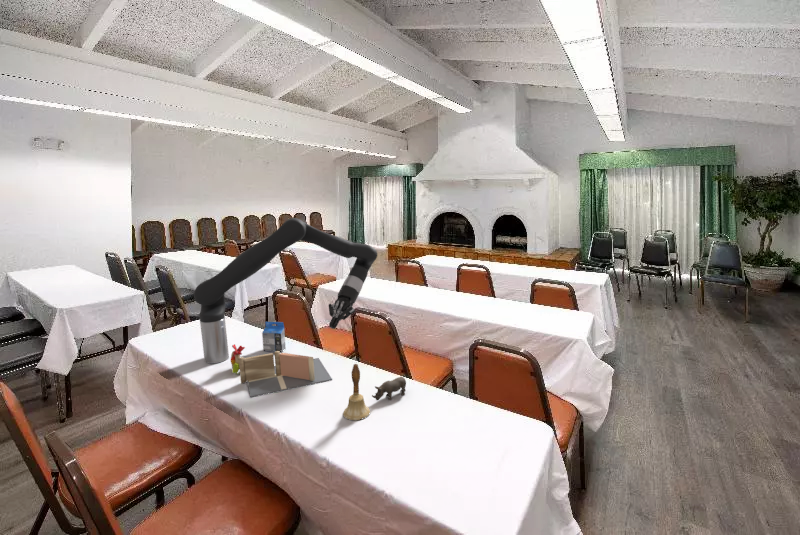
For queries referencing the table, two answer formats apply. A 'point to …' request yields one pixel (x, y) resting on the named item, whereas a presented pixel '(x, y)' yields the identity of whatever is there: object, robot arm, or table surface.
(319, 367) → the card
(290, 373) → the swing fence panel
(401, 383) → the rhino figurine
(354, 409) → the hand bell
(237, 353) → the bird rattle
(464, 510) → the table surface
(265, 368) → the fence post section
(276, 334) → the label tape box
